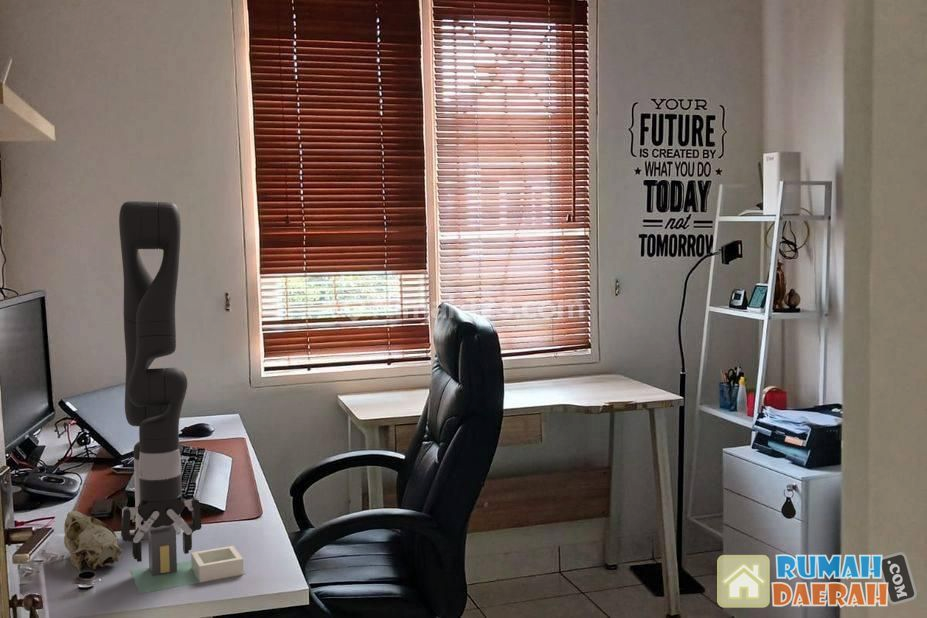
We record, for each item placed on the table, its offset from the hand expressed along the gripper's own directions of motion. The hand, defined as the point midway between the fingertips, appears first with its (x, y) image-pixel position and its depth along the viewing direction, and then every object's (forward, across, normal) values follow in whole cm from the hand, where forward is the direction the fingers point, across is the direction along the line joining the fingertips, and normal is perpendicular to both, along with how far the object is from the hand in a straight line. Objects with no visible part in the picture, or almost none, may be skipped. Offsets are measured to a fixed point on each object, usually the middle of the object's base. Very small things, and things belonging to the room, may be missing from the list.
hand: (162, 556), depth 161 cm
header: (+3, -9, +5) cm, 11 cm away
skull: (+4, +12, -12) cm, 17 cm away
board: (+4, -4, +3) cm, 6 cm away
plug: (+3, 0, 0) cm, 3 cm away
